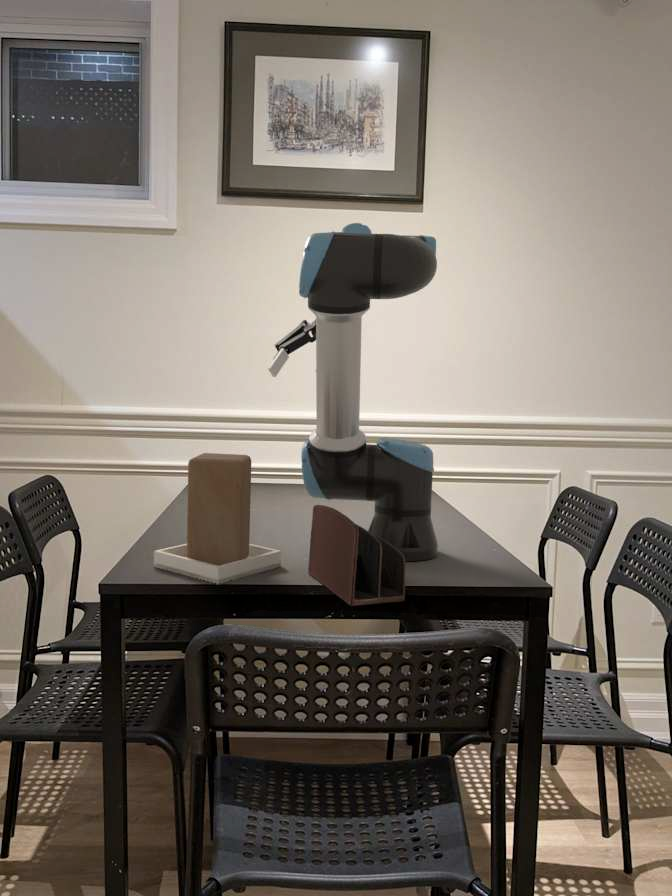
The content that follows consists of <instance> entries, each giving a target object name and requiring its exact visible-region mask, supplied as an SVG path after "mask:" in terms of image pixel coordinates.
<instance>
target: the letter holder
mask: <svg viewBox="0 0 672 896" xmlns="http://www.w3.org/2000/svg"><path fill="white" fill-rule="evenodd" d="M312 507H313V508H312V519H311V529H310V541H309V555H308V556H309V558H308V570H307V571H308V575H310V577H312V578H314V579H315V580H316V579H317V580H316V581H318V582H319V583H320V582H321V583H320V584H322V586H324V587H325V588H326V589H328V590H329V591H331V592H332V593H333V594H334V595H335V596H337V597H338V598H340V600H342V601H344V602H345V603H346V604H347V605H349V606H350V607H356V606H357V607H358V606H367V605H369V606H370V605H378V604H379V605H381V604H390V603H399V602H405V600H406V599H405V598H406V565H407V564H406V561H405V558H404V556H403V554H402V553H401V552H400V551H399V550H398V549H396V548H395V547H394V546H392V545H391V544H390V543H388V542H387V541H385V540H383V539H382V538H380V537H378V536H376V535H374V534H371V533H370V532H368V530H367V529H366V528H364V527H362V526H361V525H359V524H357V523H355V522H354V521H353V520H351V518H349V517H348V516H346V515H345V514H343V512H340V511H339V510H337V509H335V508H334V507H330V506H327V505H321V504H314V506H312Z"/></svg>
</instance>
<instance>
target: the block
mask: <svg viewBox="0 0 672 896" xmlns="http://www.w3.org/2000/svg"><path fill="white" fill-rule="evenodd" d="M187 466H188V467H187V511H186V512H187V520H186V521H187V522H186V523H187V524H186V526H187V527H186V528H187V529H186V530H187V531H186V544H187V558H190V559H194V560H198V561H201V562H205V563H209V564H213V565H217V566H220V565H223V564H227V563H231V562H235V561H239V560H242V559H246V558H247V557H248V555H249V544H250V532H251V531H250V530H251V528H250V527H251V525H250V523H251V492H252V491H251V490H252V488H251V487H252V485H251V484H252V458H251V456H250V455H247V454H236V453H235V454H233V453H214V452H212V453H211V452H210V453H209V452H203V453H200V454H199V455H197V456H194V457H192V458H190V459H189V461H188V464H187Z"/></svg>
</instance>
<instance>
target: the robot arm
mask: <svg viewBox="0 0 672 896" xmlns="http://www.w3.org/2000/svg"><path fill="white" fill-rule="evenodd" d="M437 268H438V258H437V239H436V238H435V237H434V236H429V235H421V234H420V235H405V234H403V235H401V234H394V233H372V230H371V228H369V226H368V225H365V224H363V223H360V222H352V223H348V224H347V225H345V226H344V227H342V228H341V230H340V231H331V232H329V231H328V232H315V233H312V234H310V235H309V237H308V238H307V240H306V242H305V246H304V249H303V255H302V260H301V266H300V273H299V274H300V275H299V284H298V285H299V286H298V288H299V289H298V290H299V291H298V294H299V296H300V297H302V298H304V299H307V308H308V310H309V311H311V312H312V314H314V315H315V319H314V320H313V321H312V322H308V321H307V320H306V319H303V320H302V321H301V322H300V323H299V325H297V326H296V327H295V328H294V329H292V330H291V331H290V332H289V333H287V334H286V335H285V336H283V337H282V338H281V339H280V340H279V341H277V342H276V343H275V344H274V347H275V349H276V350H277V352H276V354H275V355H274V357H273V358H272V361H271V363H270V364H269V366H268V367H267V370H268V371H269V373H270V374H271V376H272V377H273V378H276V377H277V376H278V374H279V373H280V371H281V370H282V368H283V367H284V365H285V364H286V362H287V361H288V360H289V358H290V356H289V355H290V354H292V353H293V352H295V351H296V350H299V349H300V348H302V347H303V346H305V345H306V344H308V343H314V342H316V344H315V347H316V348H315V350H316V351H315V355H316V358H315V360H316V363H315V365H316V366H315V367H316V368H315V370H314V371H315V373H316V374H315V376H316V378H315V379H316V382H315V383H316V385H315V386H316V389H315V391H316V393H315V394H316V421H315V422H316V428H315V429H314V430H313V431H312V432H311V433H310V435H309V436H308V440H307V441H305V442H303V444H302V447H301V458H300V459H301V473H302V480H303V485H304V488H305V491H306V492H307V494H308V495H309V496H310V497H312V498H314V499H315V498H316V499H324V500H329V501H331V500H343V501H345V500H346V501H363V502H364V501H366V502H374V513H373V517H372V519H371V522H370V525H369V528H368V530H367V531H368V532H370V533H371V534H374V535H376V536H378V537H380V538H382V539H383V540H385V541H387V542H388V543H390V544H391V545H392V546H394V547H395V548H396V549H398V550H399V551H400V552H401V553H402V554H403V556H404V558H405V562H417V561H427V560H431V559H434V558H436V557H437V556H438V549H439V545H438V540H437V536H436V532H435V528H434V525H433V521H432V497H433V493H432V492H433V472H435V468H434V452H433V450H432V448H431V447H430V446H427V445H426V444H422V443H418V442H415V441H410V440H406V439H405V440H404V439H398V438H392V437H391V438H389V437H379V438H378V439H377V441H376V444H369V443H367V436H366V434H365V433H364V432H363V431H362V430H361V429H360V411H361V410H360V407H361V404H360V403H361V402H360V400H361V369H362V368H361V366H362V365H361V364H362V361H361V359H362V321H363V319H362V317H363V316H364V315H365V314H366V313H367V312H368V311H369V310H370V308H371V300H394V299H399V298H404V297H407V296H409V295H412V294H415V293H417V292H419V291H421V290H422V289H424V288H425V287H426V286H428V285H429V284H430V283H431V282H432V280H433V279H434V278H435V276H436V274H437V273H436V272H437ZM310 333H311V334H310ZM311 335H312V336H311Z"/></svg>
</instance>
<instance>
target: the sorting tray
mask: <svg viewBox="0 0 672 896" xmlns="http://www.w3.org/2000/svg"><path fill="white" fill-rule="evenodd" d="M281 561H282V551H281V550H279V549H274V548H271V547H265V546H261V545H256V544H253V543H249V555H248V557H247V558H246V559H242V560H239V561H235V562H231V563H227V564H223V565H220V566H217V565H213V564H209V563H205V562H201V561H198V560H194V559H190V558H187V543H183V544H179V545H175V546H169V547H166V548H162V549H157V550H153V567H154V568H157V569H161V570H164V571H167V570H168V572H172V573H175V574H178V573H180V574H179V575H182V574H183V575H182V576H185V575H186V577H189V576H190V578H193V577H194V578H193V579H196V578H198V579H197V580H200V579H201V580H200V581H203V580H205V581H204V582H207V581H209V582H208V583H211V582H212V583H211V584H214V583H216V584H215V585H221V584H224V583H223V582H225V583H228V582H231V581H230V580H232V581H236V580H238V578H239V579H241V578H242V579H243V578H246V577H248V576H252V575H256V574H259V573H263V572H267V571H269V570H273V569H277V568H280V567H281V563H282V562H281ZM245 576H246V577H245ZM227 581H228V582H227ZM220 583H221V584H220Z"/></svg>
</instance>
